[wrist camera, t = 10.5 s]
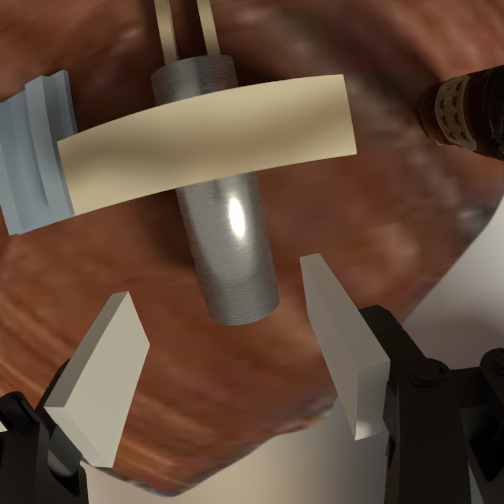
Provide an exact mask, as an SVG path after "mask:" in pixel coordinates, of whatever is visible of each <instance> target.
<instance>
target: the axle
mask: <svg viewBox="0 0 504 504" xmlns="http://www.w3.org/2000/svg"><path fill="white" fill-rule="evenodd" d="M151 81H152V86H153V91H154V96H155V101H156V106H157V107H158V106H161V105H165V104H169V103H172V102H176V101H180V100H184V99H188V98H192V97H196V96H200V95H205V94H209V93H214V92H219V91H223V90H228V89H234V88H239V85H238V80H237V76H236V71H235V66H234V62H233V58H232V57H230V56H227V55H205V56H198V57H192V58H188V59H184V60H180V61H177V62H174V63H171V64H168V65H166V66H164V67H162V68H160V69H158V70H156V71H155V72H154V73H153V74H152V75H151ZM175 191H176V195H177V199H178V203H179V207H180V211H181V215H182V219H183V223H184V227H185V231H186V235H187V238H188V242H189V246H190V249H191V253H192V257H193V260H194V264H195V268H196V271H197V275H198V278H199V282H200V285H201V289H202V292H203V296H204V299H205V302H206V306H207V309H208V313H209V316H210V317H211V319H213V320H214V321H215V322H218V323H220V324H225V325H242V324H247V323H251V322H255V321H258V320H260V319H262V318H264V317H266V316H268V315H269V314H271V313H272V312H273V311H274V310H275V309H276V308H277V307H278V305H279V302H280V297H279V292H278V286H277V280H276V275H275V269H274V264H273V259H272V253H271V248H270V242H269V237H268V232H267V226H266V221H265V216H264V210H263V205H262V200H261V195H260V190H259V184H258V179H257V174H256V171H251V172H246V173H241V174H236V175H232V176H227V177H222V178H218V179H213V180H208V181H204V182H200V183H195V184H191V185H187V186H182V187H178V188H175Z"/></svg>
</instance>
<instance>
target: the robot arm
mask: <svg viewBox="0 0 504 504" xmlns="http://www.w3.org/2000/svg"><path fill="white" fill-rule="evenodd" d="M300 261H301V268H302V275H303V282H304V290H305V297H306V304H307V312H308V318H309V320H310V323H311V325H312V328H313V330H314V333H315V335H316V338H317V340H318V343H319V346H320V348H321V351H322V353H323V356H324V358H325V361H326V364H327V366H328V369H329V371H330V374H331V377H332V379H333V382H334V385H335V387H336V390H337V392H338V395H339V398H340V400H341V403H342V406H343V408H344V411H345V414H346V416H347V419H348V422H349V424H350V427H351V430H352V433H353V435H354V438H355V440H358V439H362V438H366V437H369V436H372V435H375V434H378V433H381V432H382V428H383V421H384V423H385V425H386V427H387V429H388V431H389V438H388V443H387V448H386V453H385V456H387V470H386V484H385V497H384V504H471V490H470V478H469V469H468V463H469V465H470V468H471V470H472V473H473V475H474V478H475V480H476V483H477V485H478V488H479V491H480V494H481V496H482V499H483V502H484V504H504V348H497V349H492V350H490V351H489V352H487V353H485V355H484V356H483V357H482V359H481V362H480V365H479V367H472V368H466V369H457V370H450V369H449V368H448V367H447V366H446V365H445V364H444V363H442V362H441V361H438V360H435V359H431V358H426V357H425V356H424V355H423V353H422V352H421V351H420V349H419V348H418V347H417V346H416V344H415V343H414V342H413V340H412V339H411V338H410V336H409V335H408V334H407V333H406V331H405V330H403V327H402V326H401V325H400V324H399V322H398V323H397V320H396V319H395V317H394V316H393V315H392V314H391V312H390V311H388V310H386V309H384V308H383V307H381V306H379V305H374V306H370V307H366V308H362V309H358V310H357V308H356V307H355V305H354V304H353V302H352V301H351V299H350V298H349V296H348V295H347V293H346V292H345V290H344V289H343V287H342V286H341V284H340V283H339V281H338V280H337V279H336V277H335V276H334V274H333V273H332V271H331V270H330V268H329V267H328V265H327V264H326V263H325V261H324V260H323V258H322V257H321V255H320V254H319V253H318V254H313V255H308V256H303V257H300ZM149 346H150V344H149V342H148V339H147V337H146V335H145V332H144V330H143V327H142V325H141V322H140V320H139V318H138V315H137V312H136V310H135V307H134V305H133V302H132V300H131V297H130V294H129V292H128V291H126V292H121V293H115V294H112V295H111V297H110V298H109V300H108V301H107V303H106V304H105V306H104V307H103V309H102V310H101V312H100V313H99V315H98V317H97V318H96V320H95V321H94V323H93V324H92V326H91V327H90V329H89V331H88V332H87V334H86V335H85V337H84V338H83V340H82V342H81V343H80V345H79V346H78V348H77V350H76V351H75V353H74V355H73V356H72V358H71V359H68V360H67V361H66V362H65V363H64V364H63V365H62V366H61V367H60V368H59V369H58V371H57V372H56V374H55V376H54V379H52V381H51V382H50V384H49V387H48V388H47V389H46V391H45V393H44V394H43V396H42V398H41V400H40V401H39V403H38V405H37V407H36V409H35V410H34V409H33V407H32V406H31V405H30V403H29V402H28V401H27V399H26V398H25V396H24V395H23V393H21V392H18V391H15V392H10V393H7V394H5V395H4V396H2V397H1V398H0V421H1V423H2V424H3V425H4V426H5V428H6V429H7V431H4V432H0V504H89V500H88V490H87V479H86V473H85V470H84V468H83V467H82V466H81V465H80V461H81V458H82V455H83V457H84V458H85V459H86V460H87V461H88V462H89V463H90V464H91V465H92V466H99V467H112V466H113V463H114V459H115V455H116V452H117V448H118V445H119V441H120V438H121V434H122V431H123V427H124V424H125V421H126V417H127V414H128V411H129V407H130V404H131V401H132V398H133V395H134V391H135V388H136V385H137V382H138V379H139V376H140V373H141V370H142V367H143V364H144V361H145V358H146V355H147V352H148V349H149Z"/></svg>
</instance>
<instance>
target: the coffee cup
mask: <svg viewBox="0 0 504 504" xmlns="http://www.w3.org/2000/svg"><path fill="white" fill-rule="evenodd" d="M419 112H420V117H421V121H422V124H423V126H424V129H425V130H426V132H427V133H428V135H429V137H430V138H431V139H433V140H434V141H435V142H436V143H437V144H439V145H448V146H450V145H456V146H459V147H460V148H462V147H463V148H466V149H468V150H471V151H473V152H475V153H478V154H480V155H483V156H486V157H491V158H495V159H499V160H502V161H504V65H501V66H498V67H493V68H491V69H486V70H482V71H478V72H474V73H469V74H467V75H463V76H460V77H455V78H452V79H449V80H447V81H445V82H443V83H441V84H435V85H433V86H431V87H429V88H428V89H427V90H426V91H425V92H424V93H423V95H422V97H421V101H420V109H419Z"/></svg>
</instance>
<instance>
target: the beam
mask: <svg viewBox="0 0 504 504" xmlns="http://www.w3.org/2000/svg"><path fill="white" fill-rule="evenodd" d="M154 3H155V9H156V15H157V21H158V27H159V32H160V38H161V44H162V49H163V55H164V60H165V65H168V64H171V63H174V62H177V61H180V58H179V53H178V48H177V43H176V38H175V32H174V27H173V21H172V16H171V10H170V5H169V0H154ZM197 5H198V10H199V14H200V19H201V24H202V29H203V34H204V39H205V44H206V48H207V53H208V55H221V54H220V49H219V45H218V40H217V35H216V31H215V26H214V21H213V17H212V12H211V7H210V3H209V0H197ZM57 144H58V149H59V154H60V158H61V163H62V167H63V171H64V175H65V179H66V183H67V187H68V191H69V194H70V198H71V202H72V205H73V209H74V212H75V215H79V214H82V213H86V212H89V211H92V210H96V209H99V208H103V207H106V206H110V205H113V204H117V203H120V202H124V201H128V200H131V199H135V198H139V197H143V196H146V195H150V194H154V193H158V192H162V191H166V190H170V189H174V188H178V187H182V186H187V185H191V184H195V183H200V182H204V181H208V180H213V179H218V178H222V177H227V176H232V175H236V174H241V173H246V172H251V171H256V170H262V169H267V168H272V167H278V166H283V165H289V164H295V163H301V162H307V161H313V160H319V159H325V158H332V157H339V156H346V155H353V154H357V151H356V145H355V138H354V132H353V126H352V120H351V114H350V108H349V103H348V98H347V92H346V87H345V82H344V78H343V74H341V75H328V76H317V77H307V78H298V79H290V80H282V81H275V82H268V83H262V84H256V85H250V86H244V87H239V88H234V89H228V90H223V91H219V92H214V93H209V94H205V95H200V96H196V97H192V98H188V99H184V100H180V101H176V102H172V103H169V104H165V105H161V106H158V107H154V108H151V109H147V110H144V111H141V112H138V113H134V114H131V115H128V116H125V117H122V118H119V119H116V120H113V121H110V122H107V123H104V124H102V125H99V126H96V127H93V128H91V129H88V130H85V131H83V132H80V133H78V134H75V135H73V136H70V137H68V138H65V139H63V140H61V141H58V142H57Z"/></svg>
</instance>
